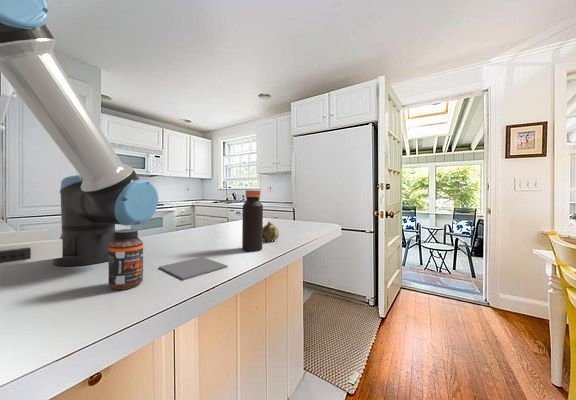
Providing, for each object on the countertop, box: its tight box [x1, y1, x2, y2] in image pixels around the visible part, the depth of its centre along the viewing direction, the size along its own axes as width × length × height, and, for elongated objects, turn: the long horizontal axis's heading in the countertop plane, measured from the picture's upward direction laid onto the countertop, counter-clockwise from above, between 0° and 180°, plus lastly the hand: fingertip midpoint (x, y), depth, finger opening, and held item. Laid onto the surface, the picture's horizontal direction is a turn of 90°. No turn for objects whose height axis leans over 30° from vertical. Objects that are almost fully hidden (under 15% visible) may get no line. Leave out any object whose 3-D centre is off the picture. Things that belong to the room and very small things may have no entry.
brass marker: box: [113, 285, 138, 291], centre depth 50 cm, size 4×4×1 cm
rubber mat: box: [158, 256, 228, 281], centre depth 61 cm, size 12×12×1 cm
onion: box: [262, 221, 280, 242], centre depth 95 cm, size 8×8×8 cm
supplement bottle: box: [108, 228, 144, 290], centre depth 49 cm, size 6×6×11 cm
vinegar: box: [241, 190, 264, 252], centre depth 81 cm, size 7×7×20 cm
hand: (55, 241), depth 41 cm, fingers open, 13 cm apart
